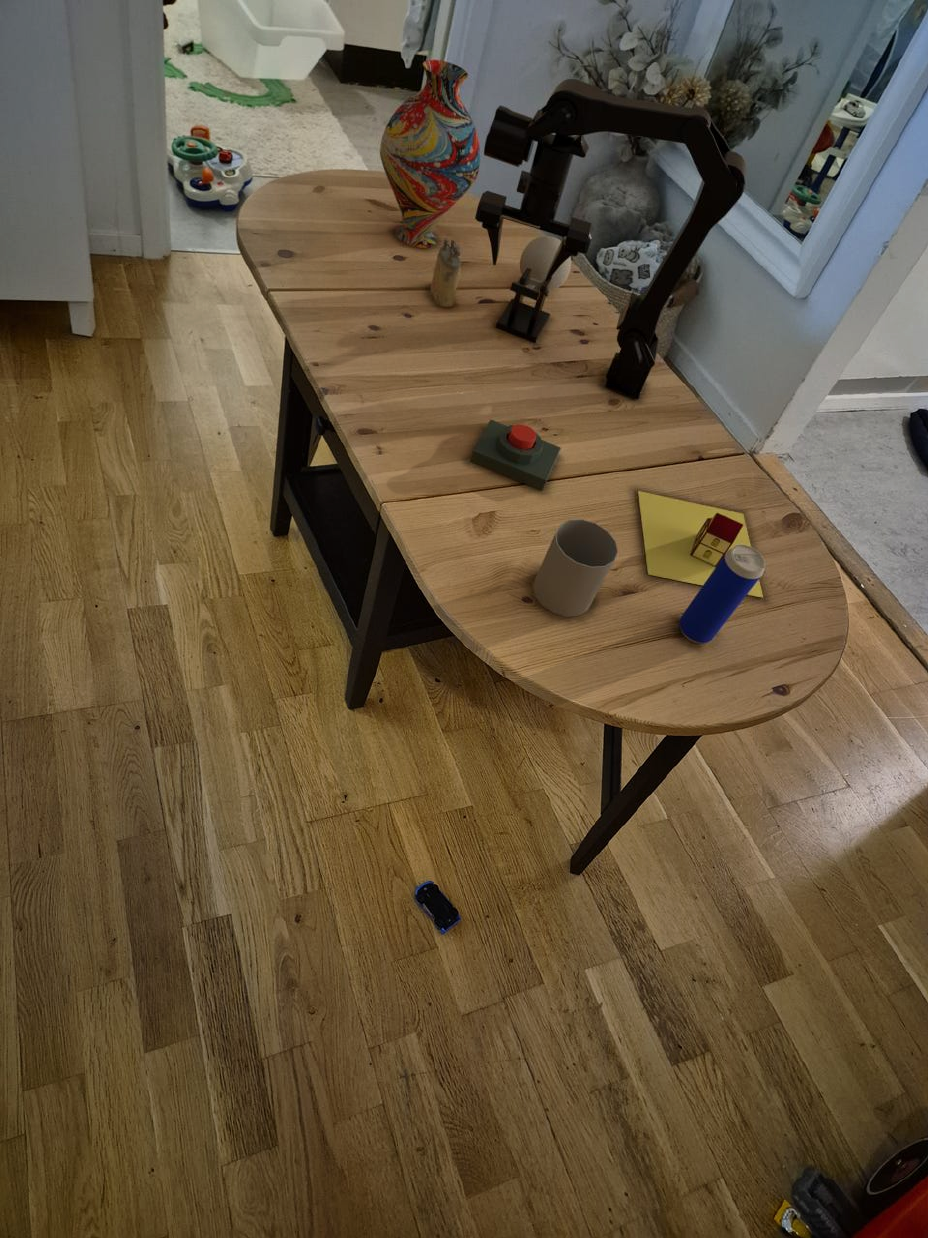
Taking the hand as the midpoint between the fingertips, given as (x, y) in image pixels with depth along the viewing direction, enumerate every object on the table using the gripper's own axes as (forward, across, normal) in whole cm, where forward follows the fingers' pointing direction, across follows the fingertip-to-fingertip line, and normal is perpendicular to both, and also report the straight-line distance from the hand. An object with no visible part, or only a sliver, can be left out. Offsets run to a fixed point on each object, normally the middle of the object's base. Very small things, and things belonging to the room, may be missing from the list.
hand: (520, 271), depth 134 cm
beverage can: (+14, -36, +56) cm, 69 cm away
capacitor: (+14, +13, -9) cm, 21 cm away
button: (+10, -7, +32) cm, 34 cm away
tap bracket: (+13, -3, -8) cm, 16 cm away
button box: (+13, -7, +32) cm, 35 cm away
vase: (+13, +22, -28) cm, 38 cm away
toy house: (+14, -37, +38) cm, 55 cm away
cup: (+14, -17, +57) cm, 61 cm away
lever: (+5, -2, -4) cm, 7 cm away
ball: (+14, -4, -23) cm, 27 cm away
